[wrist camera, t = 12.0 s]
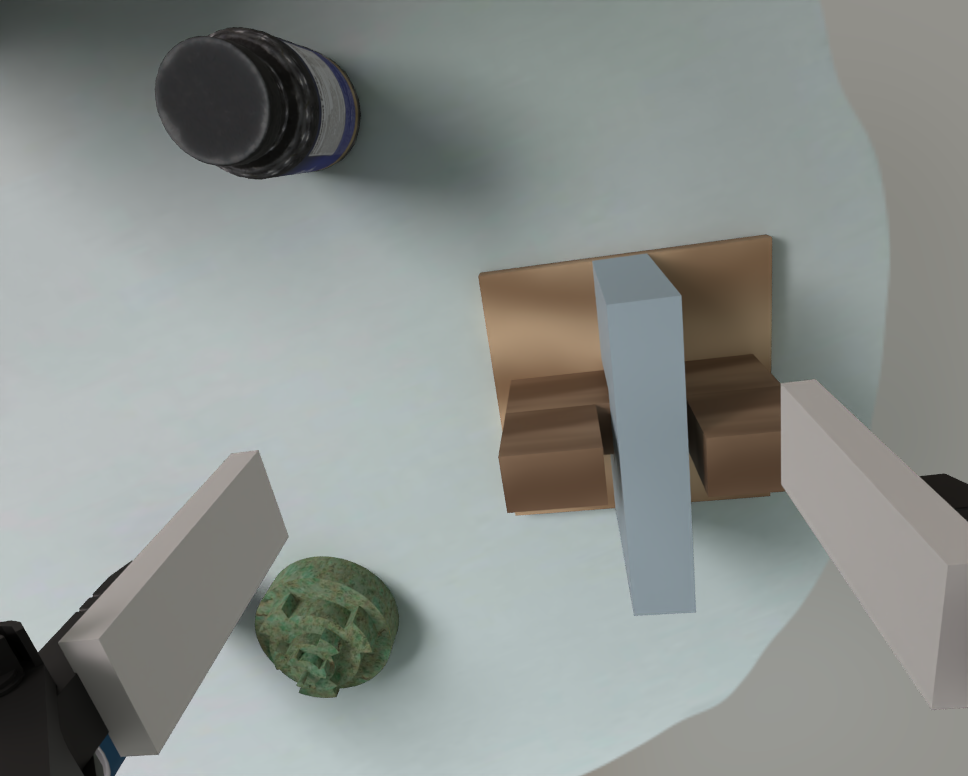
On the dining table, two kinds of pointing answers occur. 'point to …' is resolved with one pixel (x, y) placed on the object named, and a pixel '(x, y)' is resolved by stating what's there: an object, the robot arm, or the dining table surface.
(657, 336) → the slotted plate
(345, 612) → the decorative artifact
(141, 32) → the dining table surface
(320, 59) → the pill bottle
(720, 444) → the jig
